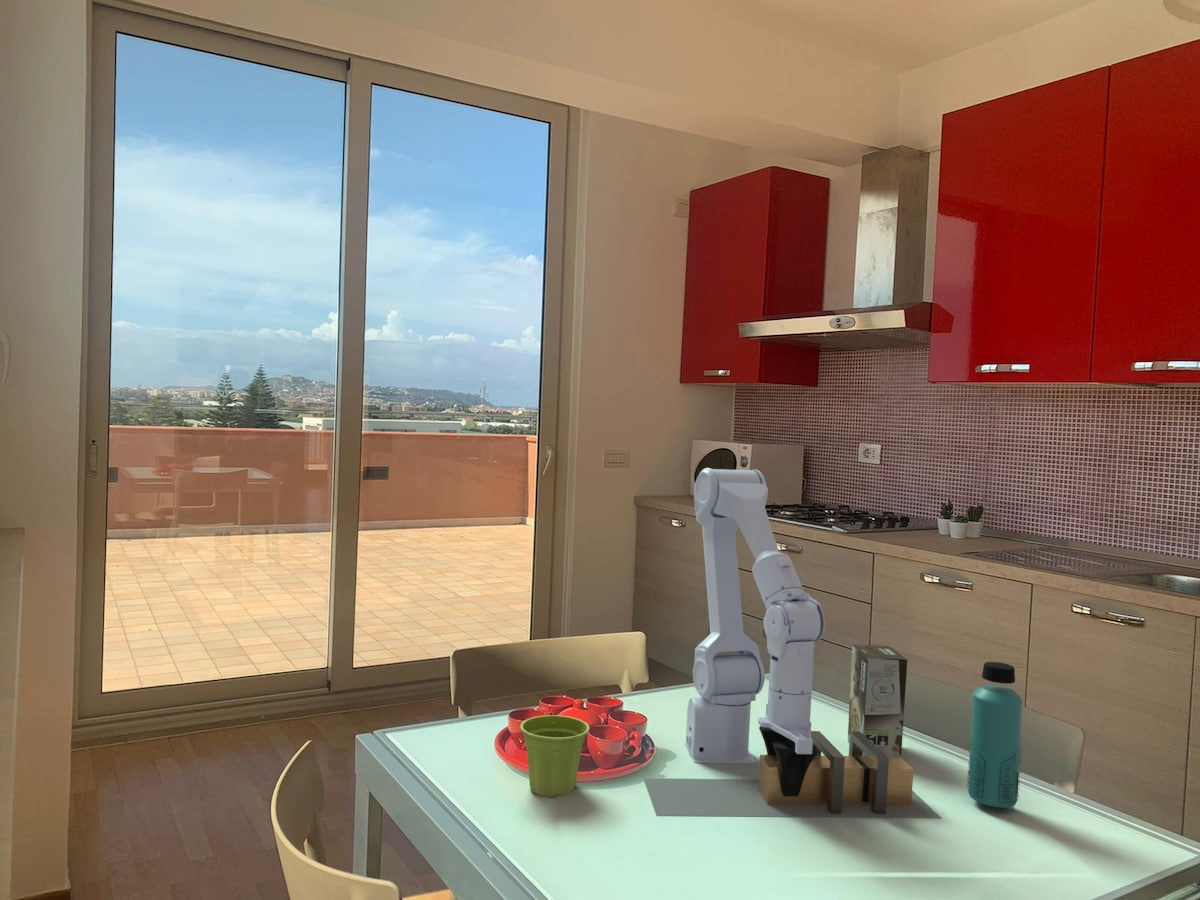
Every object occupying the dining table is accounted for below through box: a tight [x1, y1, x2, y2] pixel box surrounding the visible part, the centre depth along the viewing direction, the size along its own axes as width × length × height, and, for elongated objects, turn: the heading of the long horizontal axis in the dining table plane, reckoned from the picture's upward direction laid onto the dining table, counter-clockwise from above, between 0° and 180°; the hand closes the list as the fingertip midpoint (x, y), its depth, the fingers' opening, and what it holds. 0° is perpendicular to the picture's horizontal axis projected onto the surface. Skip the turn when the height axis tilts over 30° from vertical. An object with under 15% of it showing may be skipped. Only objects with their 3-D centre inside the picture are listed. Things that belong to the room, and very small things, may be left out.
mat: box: [643, 777, 943, 819], centre depth 121 cm, size 38×12×1 cm, turn 95°
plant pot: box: [519, 714, 590, 798], centre depth 121 cm, size 9×9×9 cm
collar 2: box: [848, 732, 889, 814], centre depth 122 cm, size 2×10×8 cm, turn 5°
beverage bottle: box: [966, 661, 1024, 808], centre depth 122 cm, size 6×7×20 cm
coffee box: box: [847, 644, 909, 759], centre depth 142 cm, size 9×6×16 cm
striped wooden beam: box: [758, 754, 914, 806], centre depth 122 cm, size 20×5×5 cm, turn 95°
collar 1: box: [811, 730, 845, 814], centre depth 122 cm, size 2×10×8 cm, turn 5°
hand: (784, 787), depth 121 cm, fingers closed on striped wooden beam, 4 cm apart
